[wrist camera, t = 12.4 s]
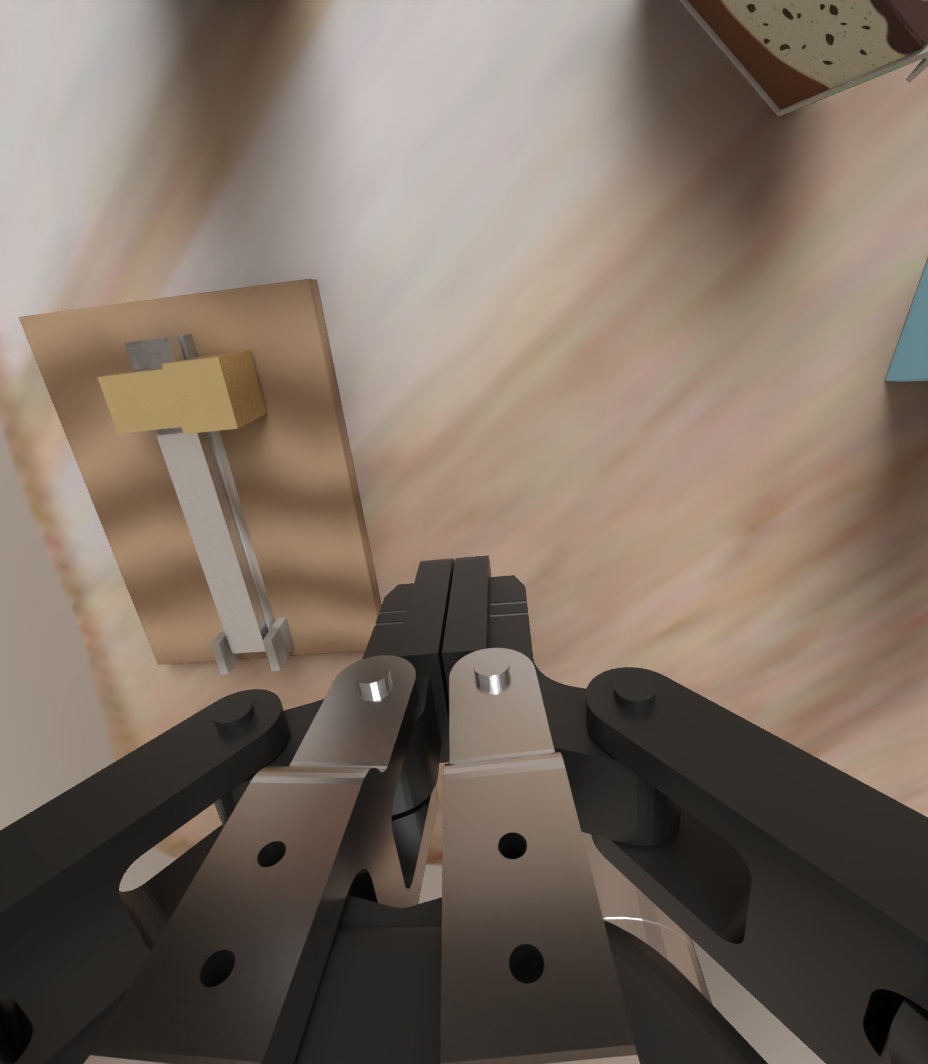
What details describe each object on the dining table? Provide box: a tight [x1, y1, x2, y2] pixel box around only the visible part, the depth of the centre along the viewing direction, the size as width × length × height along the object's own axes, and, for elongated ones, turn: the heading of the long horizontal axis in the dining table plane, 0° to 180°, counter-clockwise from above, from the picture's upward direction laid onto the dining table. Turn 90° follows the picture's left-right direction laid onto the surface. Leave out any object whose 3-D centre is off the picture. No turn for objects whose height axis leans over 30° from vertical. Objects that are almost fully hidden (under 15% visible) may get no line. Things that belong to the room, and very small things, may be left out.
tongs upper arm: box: [124, 336, 268, 654], centre depth 33 cm, size 20×2×1 cm, turn 7°
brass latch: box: [97, 350, 267, 434], centre depth 30 cm, size 4×7×4 cm, turn 97°
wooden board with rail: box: [19, 279, 381, 674], centre depth 34 cm, size 24×17×4 cm
